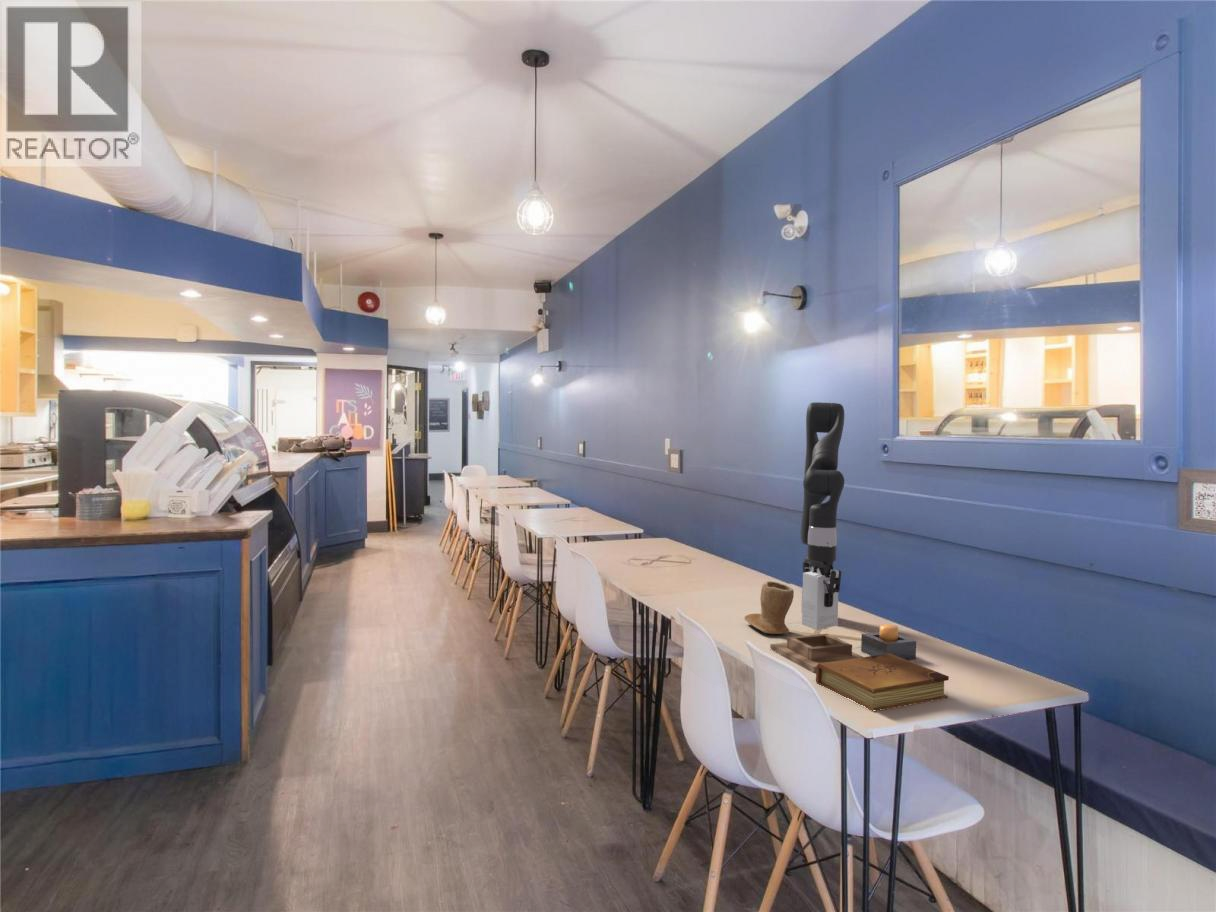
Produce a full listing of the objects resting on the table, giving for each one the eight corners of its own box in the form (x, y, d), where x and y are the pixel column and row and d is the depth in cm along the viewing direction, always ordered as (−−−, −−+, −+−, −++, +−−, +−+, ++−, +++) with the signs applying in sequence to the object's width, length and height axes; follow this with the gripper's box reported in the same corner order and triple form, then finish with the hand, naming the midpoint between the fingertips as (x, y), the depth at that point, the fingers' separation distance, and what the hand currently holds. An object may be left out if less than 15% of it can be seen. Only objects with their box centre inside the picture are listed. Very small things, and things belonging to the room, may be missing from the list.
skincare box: (822, 621, 194) (823, 568, 194) (839, 626, 189) (840, 572, 189) (800, 625, 190) (801, 571, 190) (816, 630, 185) (818, 575, 185)
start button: (875, 639, 194) (875, 625, 194) (889, 637, 196) (889, 623, 196) (887, 644, 190) (888, 629, 189) (901, 642, 191) (902, 628, 191)
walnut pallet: (770, 649, 196) (770, 633, 196) (823, 643, 202) (823, 628, 202) (813, 672, 177) (814, 655, 177) (870, 665, 183) (871, 649, 183)
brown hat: (799, 636, 210) (800, 587, 209) (762, 637, 207) (763, 588, 207) (777, 622, 225) (778, 576, 224) (742, 624, 222) (744, 577, 222)
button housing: (861, 651, 196) (861, 633, 196) (889, 648, 199) (890, 631, 199) (886, 662, 186) (886, 644, 186) (915, 659, 190) (916, 641, 190)
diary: (886, 674, 179) (887, 652, 179) (947, 700, 162) (948, 676, 162) (815, 684, 170) (816, 661, 170) (872, 713, 153) (873, 688, 153)
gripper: (794, 539, 194) (793, 598, 195) (827, 547, 181) (825, 611, 181) (817, 538, 197) (815, 596, 197) (850, 546, 183) (849, 609, 184)
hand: (820, 603), depth 189 cm, fingers closed on skincare box, 6 cm apart
